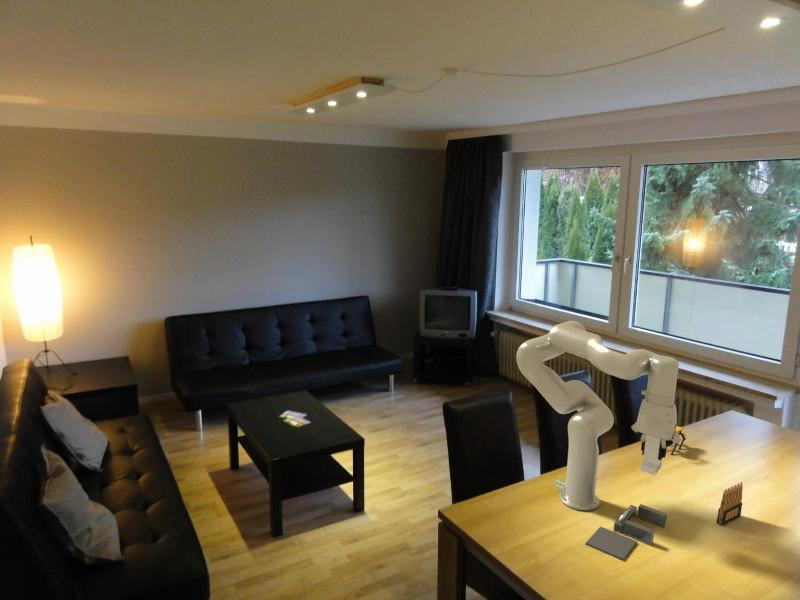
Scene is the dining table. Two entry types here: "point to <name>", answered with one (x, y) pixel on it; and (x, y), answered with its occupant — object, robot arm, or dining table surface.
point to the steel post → (651, 455)
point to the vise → (635, 529)
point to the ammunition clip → (730, 505)
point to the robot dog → (679, 435)
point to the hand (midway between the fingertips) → (652, 455)
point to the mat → (611, 543)
